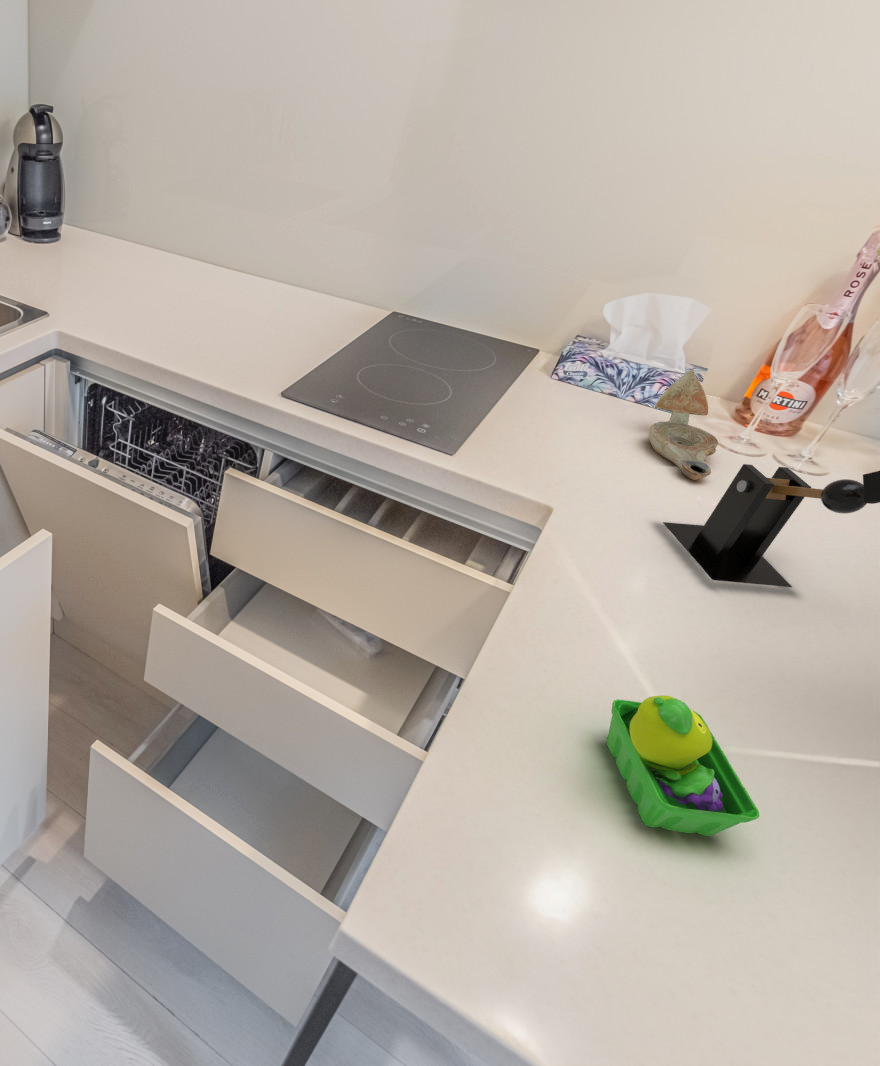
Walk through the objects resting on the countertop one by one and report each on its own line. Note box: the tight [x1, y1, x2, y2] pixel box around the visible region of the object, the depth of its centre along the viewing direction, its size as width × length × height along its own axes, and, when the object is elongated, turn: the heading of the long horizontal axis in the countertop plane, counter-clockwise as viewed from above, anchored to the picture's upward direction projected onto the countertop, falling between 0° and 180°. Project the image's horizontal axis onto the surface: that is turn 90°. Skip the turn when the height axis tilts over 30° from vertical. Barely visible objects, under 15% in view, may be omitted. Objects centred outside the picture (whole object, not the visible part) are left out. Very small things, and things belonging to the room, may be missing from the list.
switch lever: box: [765, 477, 868, 514], centre depth 84 cm, size 13×4×4 cm, turn 173°
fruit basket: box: [606, 694, 760, 837], centre depth 65 cm, size 11×9×11 cm
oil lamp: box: [648, 370, 719, 481], centre depth 114 cm, size 9×21×10 cm, turn 157°
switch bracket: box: [662, 463, 812, 588], centre depth 92 cm, size 12×9×13 cm
